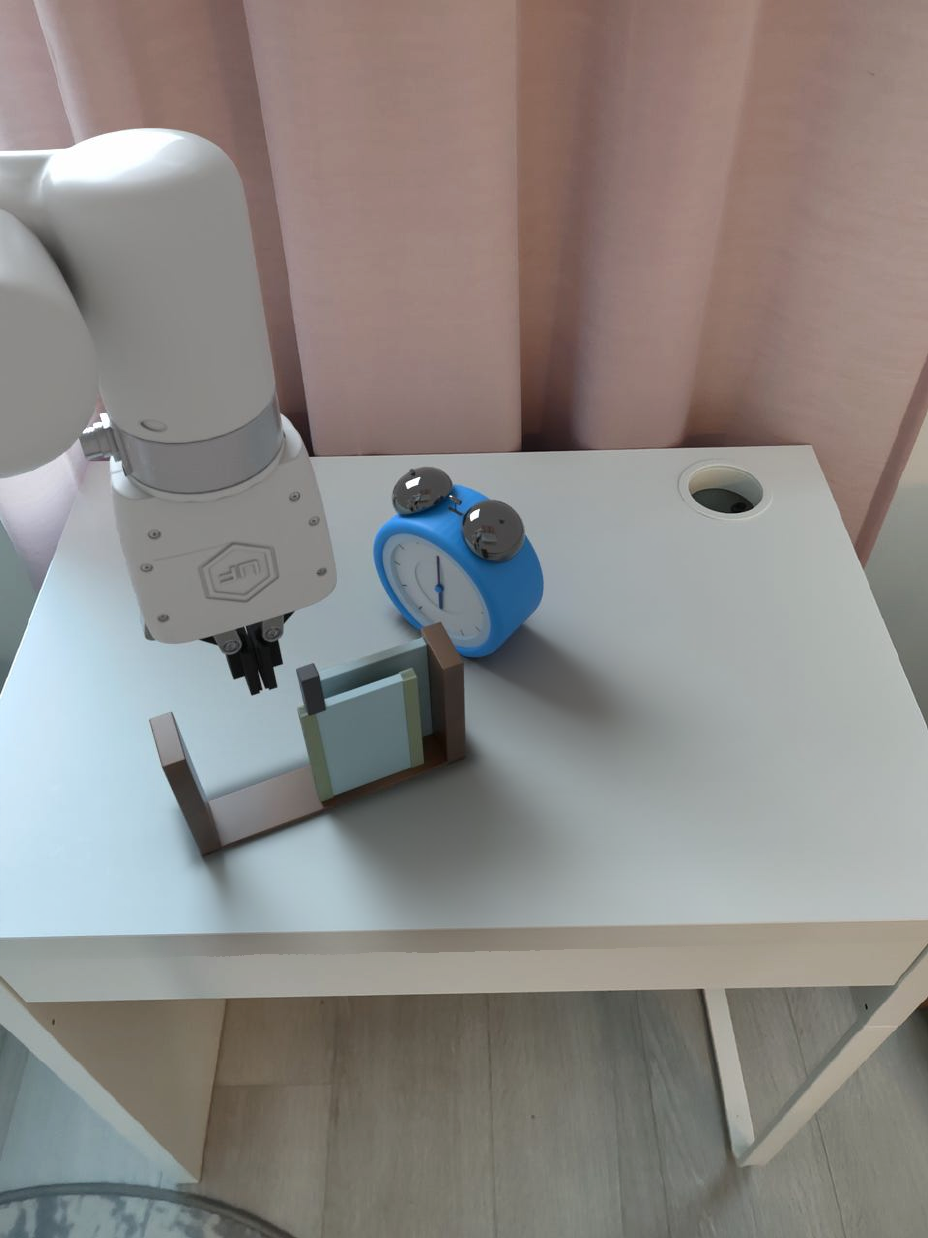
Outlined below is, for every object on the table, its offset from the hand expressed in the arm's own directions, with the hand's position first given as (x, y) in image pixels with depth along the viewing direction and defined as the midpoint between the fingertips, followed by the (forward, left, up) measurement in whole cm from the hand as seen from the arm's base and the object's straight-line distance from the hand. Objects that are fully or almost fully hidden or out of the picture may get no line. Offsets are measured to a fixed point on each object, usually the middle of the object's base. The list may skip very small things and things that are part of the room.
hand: (257, 674), depth 59 cm
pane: (+6, 0, -15) cm, 16 cm away
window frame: (+3, +1, -17) cm, 17 cm away
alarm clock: (+18, +12, -17) cm, 28 cm away
